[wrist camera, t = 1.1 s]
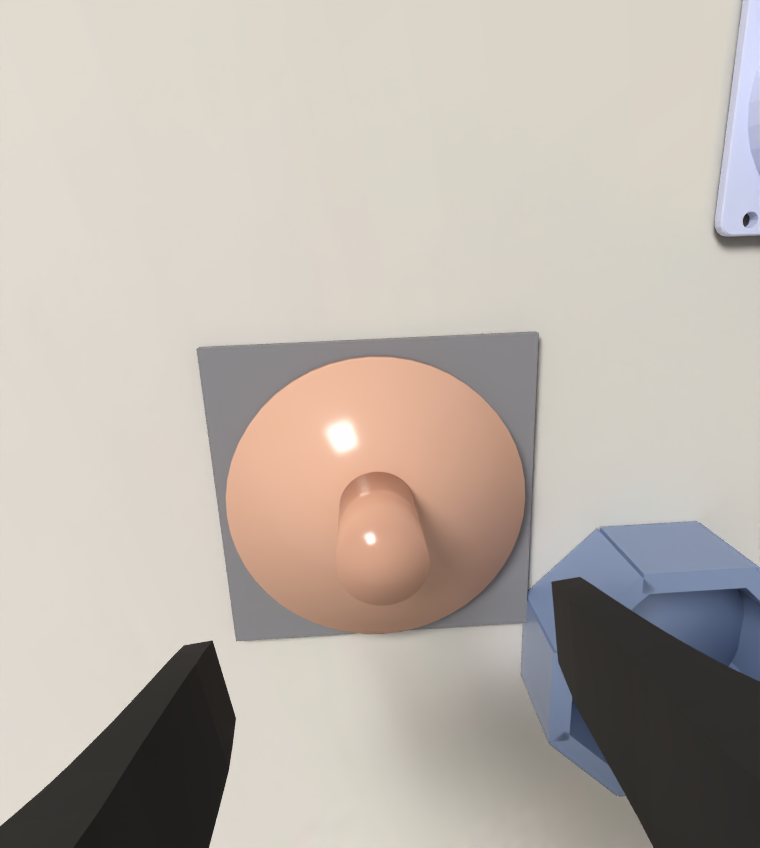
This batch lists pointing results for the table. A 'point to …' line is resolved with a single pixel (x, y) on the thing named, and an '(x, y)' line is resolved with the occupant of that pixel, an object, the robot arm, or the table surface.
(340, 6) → the table surface
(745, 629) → the bowl
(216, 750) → the robot arm
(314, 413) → the lid
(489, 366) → the mat
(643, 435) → the table surface
